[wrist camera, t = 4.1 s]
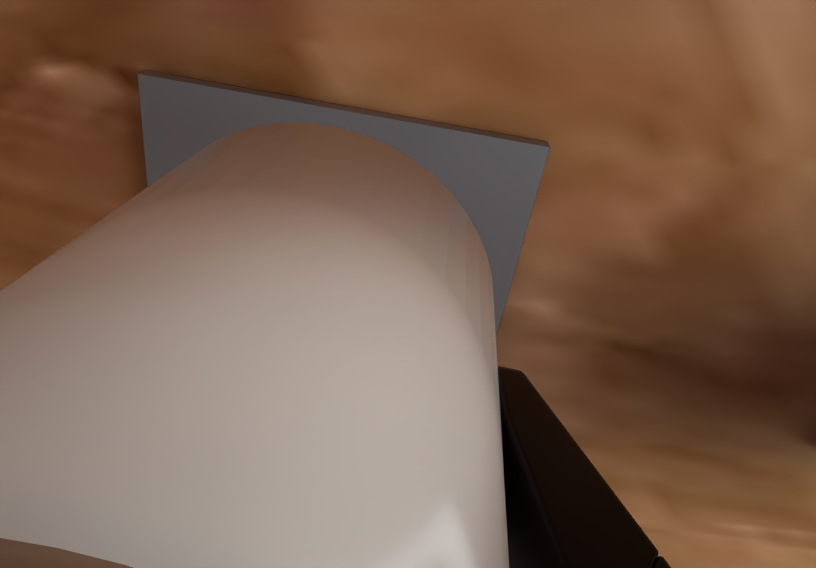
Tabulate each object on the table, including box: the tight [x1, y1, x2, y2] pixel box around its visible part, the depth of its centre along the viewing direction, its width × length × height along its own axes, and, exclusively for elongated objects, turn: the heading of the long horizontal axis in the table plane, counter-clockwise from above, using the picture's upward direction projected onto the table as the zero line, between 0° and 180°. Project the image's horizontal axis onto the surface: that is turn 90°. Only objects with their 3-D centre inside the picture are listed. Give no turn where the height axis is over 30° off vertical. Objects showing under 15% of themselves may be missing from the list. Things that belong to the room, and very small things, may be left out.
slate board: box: [137, 71, 550, 335], centre depth 21 cm, size 13×14×1 cm
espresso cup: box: [0, 123, 509, 568], centre depth 7 cm, size 6×8×7 cm
